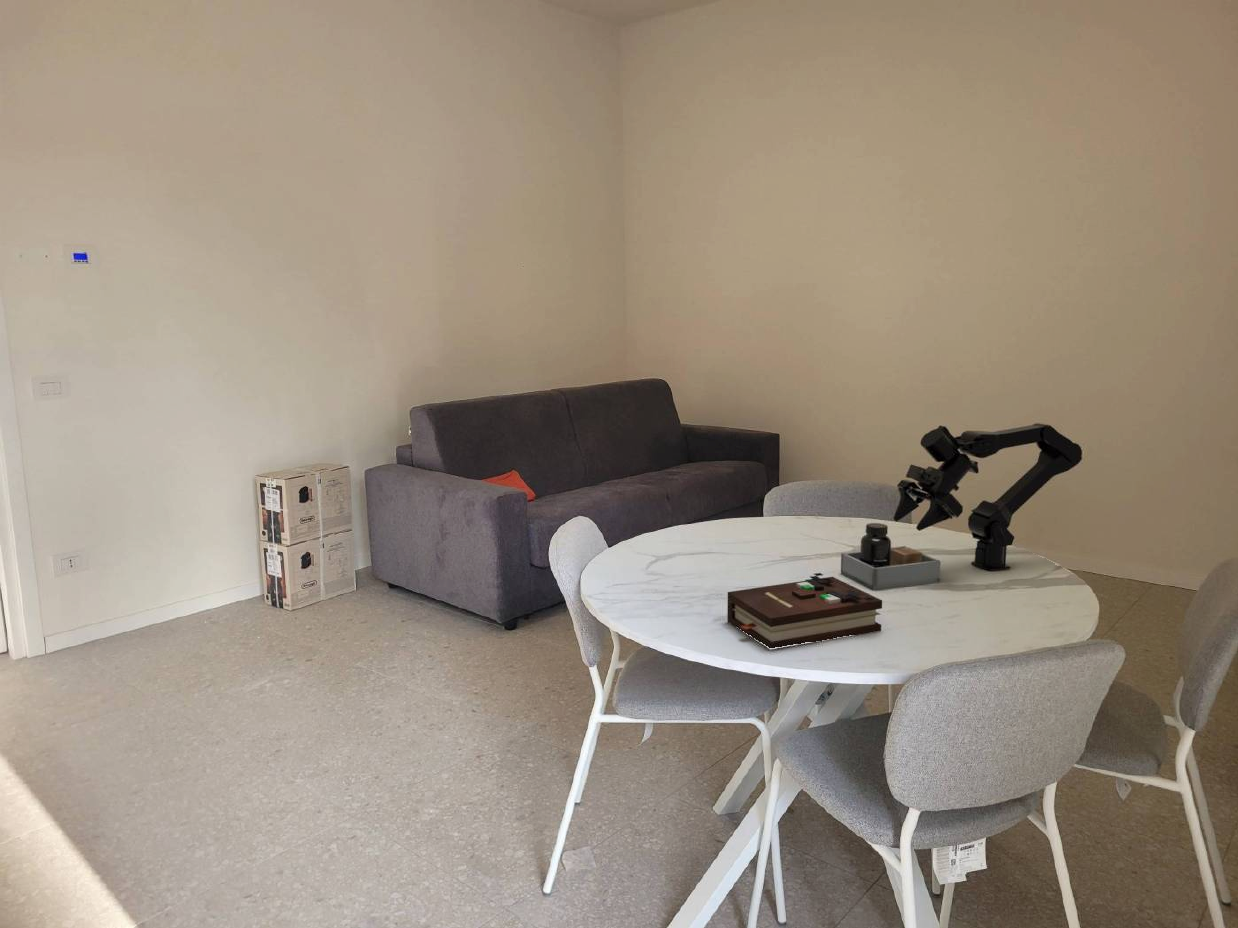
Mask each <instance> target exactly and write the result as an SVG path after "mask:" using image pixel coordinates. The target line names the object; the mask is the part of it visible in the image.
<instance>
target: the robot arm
mask: <svg viewBox="0 0 1238 928" xmlns="http://www.w3.org/2000/svg"><path fill="white" fill-rule="evenodd" d="M1029 444H1030V445H1031V444H1035V445H1036V447H1037V448H1039V450H1040V451H1039V454H1038V455H1039V456H1038V457H1037V462H1036V463H1035V464H1034V465H1033V466H1031V468H1030V469H1029V470H1027V471H1026V473H1024V475H1022V476H1021V477H1020V478H1019V479H1018V480H1017V481H1015V483H1014V484H1013V485H1012V486H1011V487H1010V488H1008V489H1007V490H1006V491H1005V492H1004V493H1003V494H1002V495H1000V497H999V498H997V499H996V500H995V501H992V502H990V501H987V500H985V499H984V500H982V501H981V502H980V503H979V504H978V505H977V507H975V508H973V509H971V511H970V512H971V513H970V515H969V516H968V518H967V519H968V521H967V525H968V530H969V531H970V532H971V536H972V538H973V539H976V547H975V549H974V550H975V552H974V553H975V554H974V560H973V561H971V563H970V564H971V565H973V566H976V567H978V568H981V569H983V570H986V571H998V570H1005V569H1011V565H1008V564H1006V563H1007V562H1006V561H1007V560H1006V559H1007V549H1008V548H1007V547H1008V546H1012V545H1013V542H1014V539H1015V536H1014V535H1013V533H1011V531H1009V529H1008V528H1009V527H1010V525H1011V521H1012V518H1013V515H1014V514H1015V513H1016V512H1017V511H1018V510H1020V508H1021V507H1022V506H1024V505H1025V504H1026V503H1027V502H1028V501H1029V500H1030V499H1031V498H1032V497H1033V496H1034V495H1036V493H1037V492H1039V490H1040V489H1042V488H1043V487H1044V486H1045V485H1046V484H1047V483H1048V482H1049V481H1050V480H1051V479H1052V478H1054V477H1055V476H1057V475H1061V474H1064V473H1066V472H1068V471H1070V470H1071V469H1073V468H1075V467H1076V466H1077V465H1079V464H1080V463H1081V461H1082V460H1083V449H1082V447H1081V446H1080V444H1079V443H1076V442H1073V441H1072V440H1071V439H1069V438H1068V437H1066V436H1065V435H1064V434H1062V433H1060V432H1058V430H1056V429H1055V427H1053V426H1052V425H1050V424H1045V423H1039V422H1038V423H1033V424H1030V425H1025V426H1018V427H1013V428H1008V429H1002V430H997V431H984V430H966V431H963V432H962V433H961V435H959V436H953V435H952V433H950V430H949V429H948V428H947V427H946V426H945V425H939V426H938V427H937V428H935V429H931V430H930V431H929V432H927V433H925V434H924V435H923V436H922V438H921V440H920V446H922V447H921V448H923V449H924V450H925V451H926V453H928V455H929V456H930V457H931V458H932V459H933V460H934V461H935V462H936V463H941V464H940V465H939V467H938V468H936V467H933V466H927V467H926V468H924V467H921V466H918V465H916V464H910V465H909V468H908V470H907V471H906V472H907V473H906V474H905V478H908V479H901V480H900V481H899V483H898V484H897V485H896V487H897V488H898V489H897V491H898V492H899V495H900V498H899V499H900V500H899V502H898V506H897V508H896V510H895V512H894V515H893V519H892V520H893V521H895V522H898V521H900V520H901V519H904V518H905V517H906V516H907V515H909V514H911V513H912V512H913V511H915V510H916V509H918V508H919V507H920V505H919V504H921V503H923V502H924V501H928V502H929V508H928V509H927V511H926V513H925V514H924V515H923V516H922V518H921V519H920V520H919V522H918V524H917V525H916V527H915V529H916V530H917V531H918V532H919V531H922V530H924V529H927V528H929V527H932V526H933V525H937V524H939V523H942V522H944V521H947V520H949V519H950V520H952V519H953V517H954V518H957V519H958V518H959V517H960V515H962V513H963V512H964V511H963V507H964V506H963V505H962V504H961V502H959V500H958V499H957V498H956V497H955V496H954V495H953V494H952V493H951V492H952V491H956V492H957V491H958V490H959V489H960V486H959V485H958V484H959V483H960V482H961V481H962V480H963V478H964V477H966V475H967V474H968V473H969V472H970V473H973V474H979V471H980V470H979V466H978V464H979V462H978V461H974V460H972V459H971V458H970V457H969V456H971V457H975V458H979V459H985V458H988V457H990V456H993V455H996V454H997V453H998V452H1000V451H1001V450H1003V449H1007V448H1013V447H1014V448H1015V447H1019V446H1025V445H1029ZM909 479H912V480H914V481H911V480H909ZM915 481H916V482H915Z"/></svg>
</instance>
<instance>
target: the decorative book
mask: <svg viewBox="0 0 1238 928" xmlns="http://www.w3.org/2000/svg"><path fill="white" fill-rule="evenodd" d="M820 576H824V574H823V573H821V572H818V573H817V572H816V573H813V576H811V575H810V576H809V579H805V580H802V581H801V580H799V581H794V582H788V583H787V582H786V583H781V584H780V583H779V584H774V585H767V586H760V587H759V586H758V587H754V588H746V589H740V590H733V591H727V614H726V615H727V618H726V619H727V621H728V623H729V622H730V623H731V624H730V623H729V624H730V625H732V626H733V625H734V626H733V627H735V628H736V627H738V628H739V629H741V630H742V631H744V632H745V633H747V634H748V635H751V636H752V637H753V638H755V639H756V640H758V641H759V642H762V643H763V644H765V645H766V646H768V647H769V648H775V647H782V646H787V645H793V644H801V643H805V642H815V643H817V642H816V641H821V642H823V641H822V640H827V639H832V640H834V639H833V638H837V637H843V636H849V635H855V636H859V634H861V635H866V634H871V633H877V631H878V632H881V631H882V624H880V623H878V622H877V621H876V616H879V615H881V613H880V612H878V611H877V610H881V609H883V600H882V599H880V598H879V597H875V596H874V595H871V594H870V593H867V592H866V591H863V590H861V589H859V588H857V587H856V586H853V585H851V584H849V583H847V582H844V581H843V580H840V579H838V578H836V577H834V576H829V577H821V578H820ZM738 628H737V629H738ZM739 629H738V630H739ZM741 630H740V631H741ZM742 631H741V632H742ZM744 632H743V633H744ZM745 633H744V634H745ZM747 634H746V635H747ZM748 635H747V636H748ZM827 641H828V640H827Z"/></svg>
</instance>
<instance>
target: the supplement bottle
mask: <svg viewBox="0 0 1238 928" xmlns="http://www.w3.org/2000/svg"><path fill="white" fill-rule="evenodd" d="M888 532H889V531H888V525H887V524H885V523H876V522H870V523H866V525H865V533H866V534H865V535H863V536H862V537H861V539H860V550H859V551H860V561H862V562H864V563H866V564H868V565H871V566H873V567H875V568H878V567H886V566H890V557H891V548H892V540H891V538H890V537H889V536H888Z"/></svg>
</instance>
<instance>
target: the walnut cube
mask: <svg viewBox="0 0 1238 928" xmlns="http://www.w3.org/2000/svg"><path fill="white" fill-rule="evenodd" d="M907 547H908V546H907ZM922 554H923V552H921V551H919V550H916V549H914V548H911V547H908V548H899V549H891V562H890V566H895V565H903V564H911V563H919V562H922Z"/></svg>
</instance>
